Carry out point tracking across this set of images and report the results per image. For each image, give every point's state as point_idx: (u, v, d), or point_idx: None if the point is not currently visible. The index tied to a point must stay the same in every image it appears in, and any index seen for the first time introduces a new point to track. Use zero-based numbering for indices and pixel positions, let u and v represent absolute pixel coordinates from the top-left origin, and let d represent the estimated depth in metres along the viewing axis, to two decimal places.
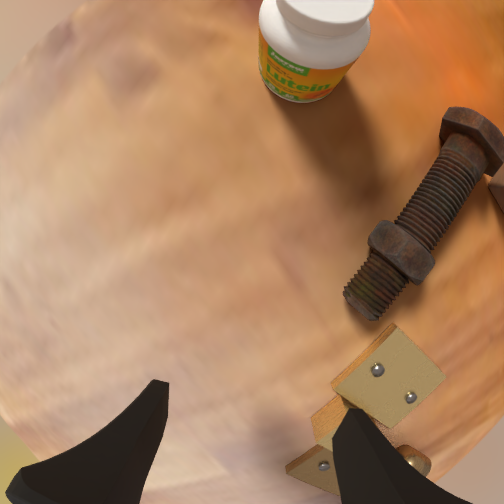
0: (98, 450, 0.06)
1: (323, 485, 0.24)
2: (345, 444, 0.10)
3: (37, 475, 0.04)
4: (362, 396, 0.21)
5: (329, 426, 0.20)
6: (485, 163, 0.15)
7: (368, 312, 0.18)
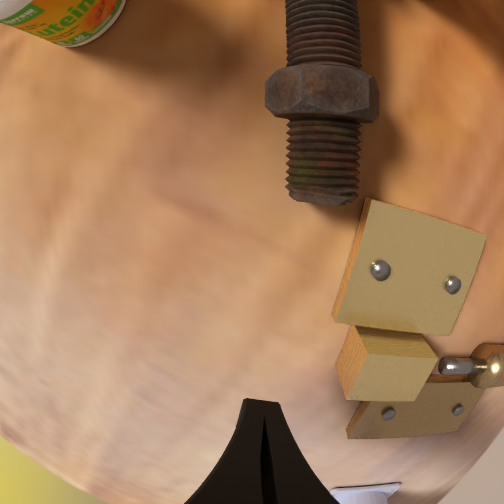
0: (229, 483, 0.06)
1: (403, 433, 0.19)
2: None
3: None
4: (382, 313, 0.16)
5: (353, 372, 0.15)
6: None
7: (331, 196, 0.12)
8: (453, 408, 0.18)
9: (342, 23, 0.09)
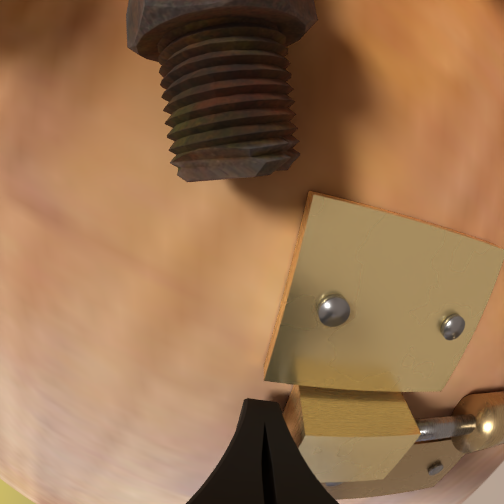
0: (230, 483, 0.06)
1: (359, 494, 0.14)
2: None
3: None
4: (339, 369, 0.10)
5: None
6: None
7: (238, 162, 0.06)
8: (428, 467, 0.13)
9: None
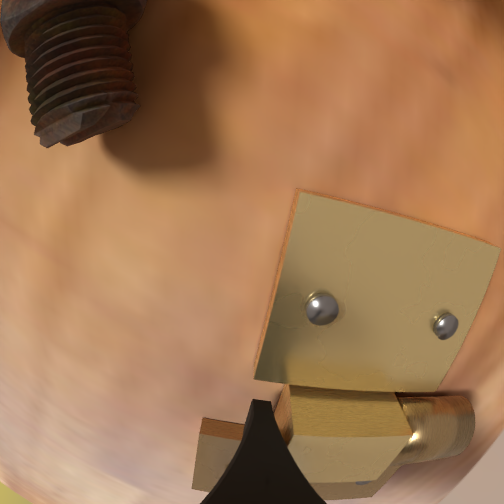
0: (242, 485, 0.06)
1: None
2: None
3: None
4: (329, 368, 0.10)
5: None
6: None
7: (66, 119, 0.06)
8: None
9: None
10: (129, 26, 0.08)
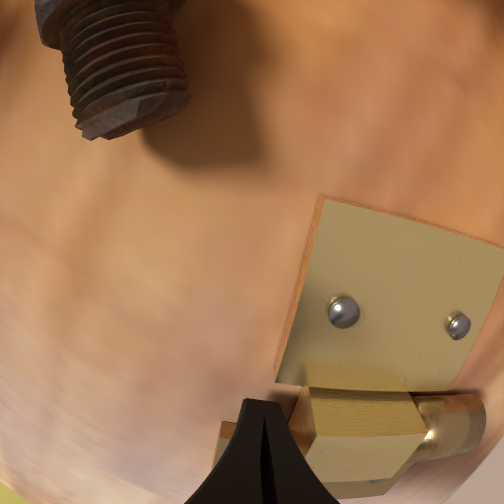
0: (229, 483, 0.06)
1: None
2: None
3: None
4: (348, 370, 0.10)
5: (300, 450, 0.10)
6: None
7: (119, 107, 0.06)
8: None
9: None
10: None
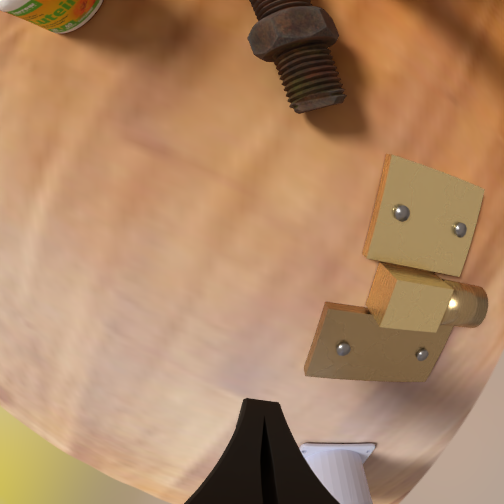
0: (229, 483, 0.06)
1: (363, 375, 0.22)
2: None
3: None
4: (404, 251, 0.19)
5: (384, 301, 0.18)
6: None
7: (325, 98, 0.14)
8: (416, 351, 0.21)
9: None
10: None
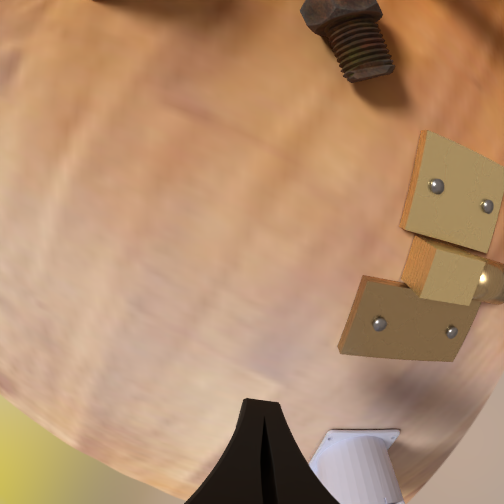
0: (229, 483, 0.06)
1: (397, 353, 0.21)
2: None
3: None
4: (438, 224, 0.18)
5: (423, 271, 0.17)
6: None
7: (379, 67, 0.13)
8: (446, 329, 0.20)
9: None
10: None
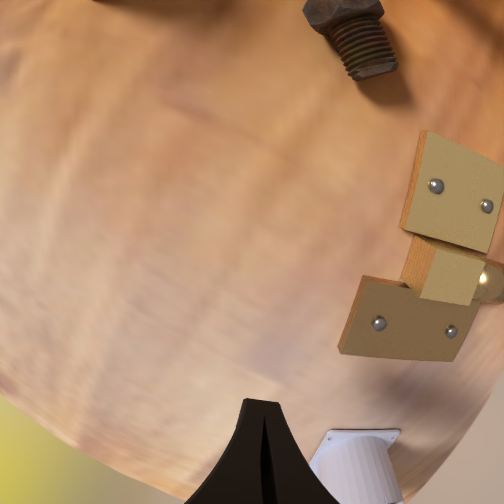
0: (229, 483, 0.06)
1: (397, 353, 0.21)
2: None
3: None
4: (438, 224, 0.18)
5: (423, 271, 0.17)
6: None
7: (384, 64, 0.13)
8: (446, 329, 0.20)
9: None
10: None
